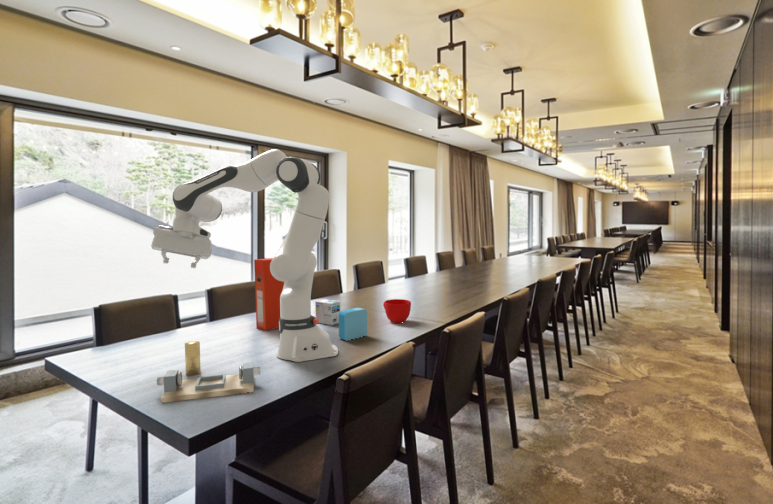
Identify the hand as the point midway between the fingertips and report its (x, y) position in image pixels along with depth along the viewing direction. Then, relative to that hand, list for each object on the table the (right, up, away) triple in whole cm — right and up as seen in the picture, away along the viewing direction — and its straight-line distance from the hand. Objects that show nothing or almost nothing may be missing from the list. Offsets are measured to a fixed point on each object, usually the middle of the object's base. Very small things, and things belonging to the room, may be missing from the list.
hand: (179, 265), depth 153 cm
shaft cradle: (+24, -36, -29) cm, 52 cm away
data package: (+62, -32, +24) cm, 73 cm away
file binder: (+24, -30, +44) cm, 58 cm away
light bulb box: (+47, -30, +50) cm, 75 cm away
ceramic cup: (+80, -29, +53) cm, 100 cm away
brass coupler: (+13, -35, -16) cm, 40 cm away
